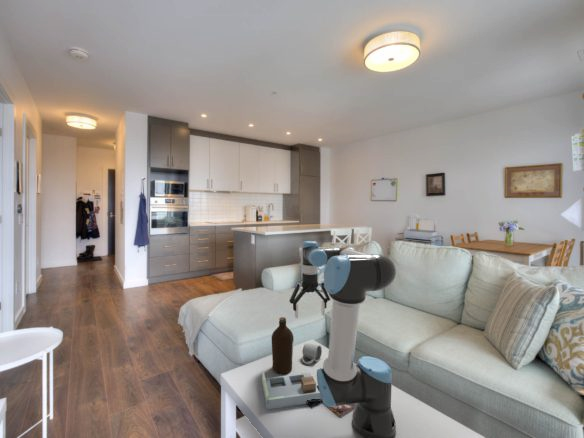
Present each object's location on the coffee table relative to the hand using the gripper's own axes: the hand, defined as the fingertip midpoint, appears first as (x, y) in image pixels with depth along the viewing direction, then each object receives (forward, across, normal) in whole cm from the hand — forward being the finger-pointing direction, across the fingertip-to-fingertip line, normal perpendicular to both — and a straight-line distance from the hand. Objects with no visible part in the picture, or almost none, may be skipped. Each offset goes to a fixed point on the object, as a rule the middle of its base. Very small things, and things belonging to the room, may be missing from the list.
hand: (309, 316), depth 139 cm
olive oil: (+25, +14, -1) cm, 29 cm away
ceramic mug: (+25, -2, -5) cm, 26 cm away
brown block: (+23, +7, +20) cm, 32 cm away
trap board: (+25, +14, +17) cm, 33 cm away
